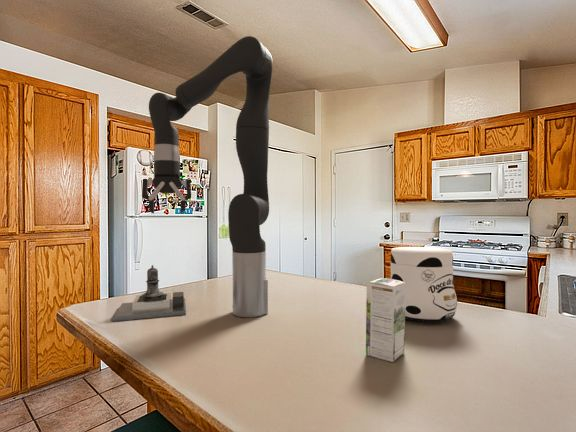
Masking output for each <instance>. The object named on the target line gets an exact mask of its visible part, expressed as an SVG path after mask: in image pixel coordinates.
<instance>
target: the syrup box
mask: <svg viewBox="0 0 576 432" xmlns="http://www.w3.org/2000/svg"><path fill="white" fill-rule="evenodd" d="M365 302H366V305H365V308H366V309H365V310H366V311H365V312H366V313H365V314H366V315H365V316H366V317H365V355H366V356H369V357H372V358H376V359H380V360H383V361H387V362H390V363H394V362H395V361H396V360H398V359H399V358H400V357H401V356H403V354H405V348H406V347H405V340H406V337H405V334H406V333H405V331H406V330H405V329H406V319H405V282H402V281H399V280H394V279H391V278H386V277H385V278H384V277H381V278H377V279H374V280H371V281H368V282H366V301H365Z"/></svg>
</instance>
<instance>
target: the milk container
mask: <svg viewBox="0 0 576 432" xmlns="http://www.w3.org/2000/svg"><path fill="white" fill-rule="evenodd" d="M453 256H454V254H453V251H452V249H448V248H443V247H431V246H428V247H427V246H399V247H398V246H397V247H393V248H391V251H390V265H389V266H390V279H394V280H399V281H402V282H405V320H409V321H410V320H411V321H415V322H423V323H437V322H438V323H439V322H445V321H448V320H450V319H452V318H454V316H455V314H456V312H457V306H458V298H457V294H456V290H455V286H454V265H453V264H454V257H453Z"/></svg>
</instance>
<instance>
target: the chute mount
mask: <svg viewBox="0 0 576 432" xmlns="http://www.w3.org/2000/svg"><path fill="white" fill-rule="evenodd" d="M163 293H164V292H163ZM184 296H185V293H184V291H175V292H173V293H172V295H171V293H170V292H169V293H168V292H166V293H164V294H163V297H162V300H161V301H148V302H144V300H143V297H142V294H141V295H139V294H138V295H136V296H135V298H134V300H133V302H132V301H131V302H122V303H121V305H120V306H119V308H117V311H116V312H115V314H114V316H113V320H112V321H113V322H123V321H134V320H133V319H135V320H143V319H154V318H155V319H156V318H165V317H166V318H167V317H176V316H186V315H187V309H186V298H185V297H184ZM171 297H172V298H171Z"/></svg>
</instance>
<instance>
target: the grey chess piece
mask: <svg viewBox="0 0 576 432" xmlns="http://www.w3.org/2000/svg"><path fill="white" fill-rule="evenodd" d="M146 272H147V273H146V281H145V283H146V291H145V293H142V294H141V295H142V297H143V300H144V302H148V301H161V300H162V297H163V294H164V292H163V291H160V288H159V282H160V280H159V270H158V269H157V268H155V267H154V264H151V267H150V268H148V269H147V271H146Z"/></svg>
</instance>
